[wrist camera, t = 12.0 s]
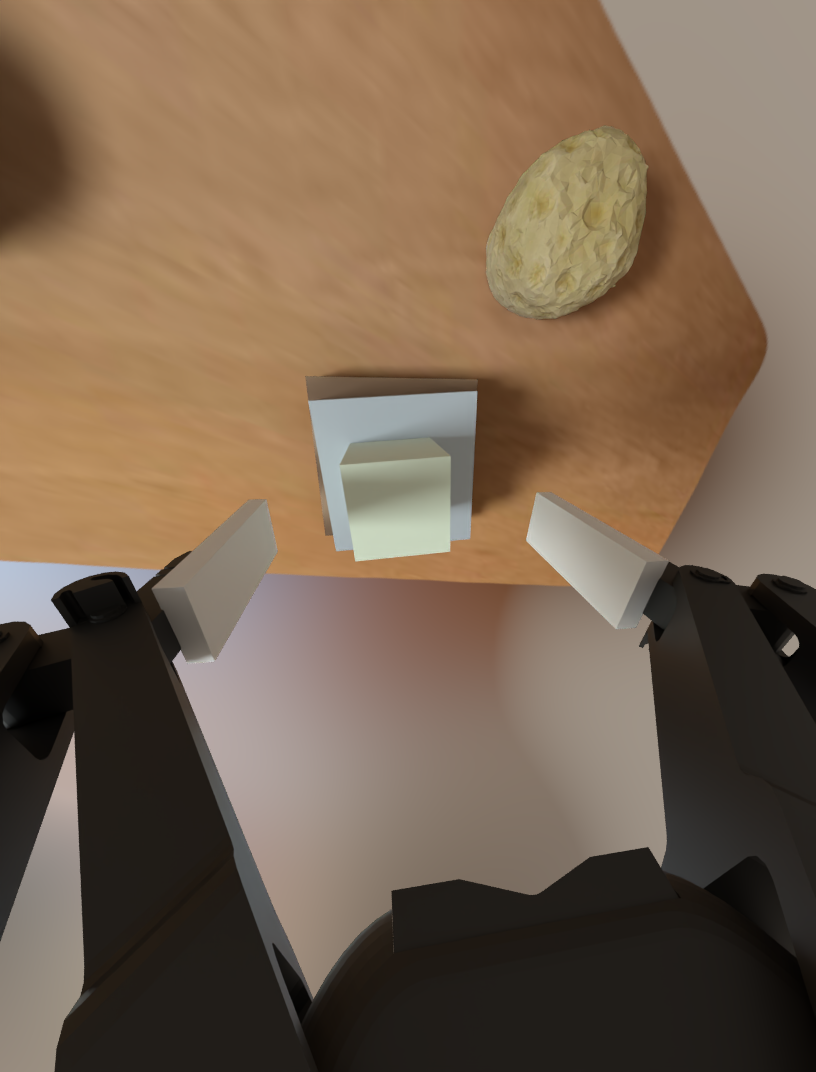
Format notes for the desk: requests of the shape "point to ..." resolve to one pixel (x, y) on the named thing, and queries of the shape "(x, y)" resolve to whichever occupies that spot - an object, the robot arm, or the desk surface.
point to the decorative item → (569, 225)
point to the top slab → (397, 419)
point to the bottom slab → (369, 388)
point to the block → (397, 497)
